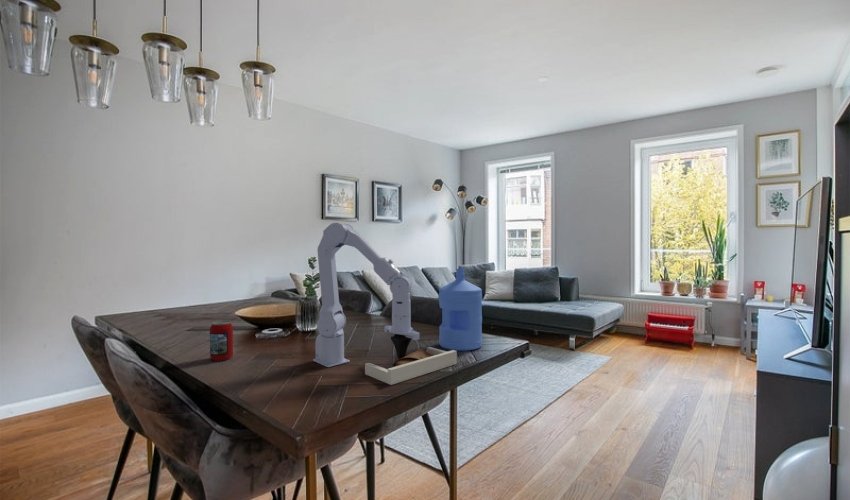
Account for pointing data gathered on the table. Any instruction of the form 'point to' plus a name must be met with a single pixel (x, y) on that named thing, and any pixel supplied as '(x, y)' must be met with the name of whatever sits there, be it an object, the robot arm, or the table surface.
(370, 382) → the table surface
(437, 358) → the cream tray
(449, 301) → the water jug
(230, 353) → the beverage can
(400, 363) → the sunglasses case
